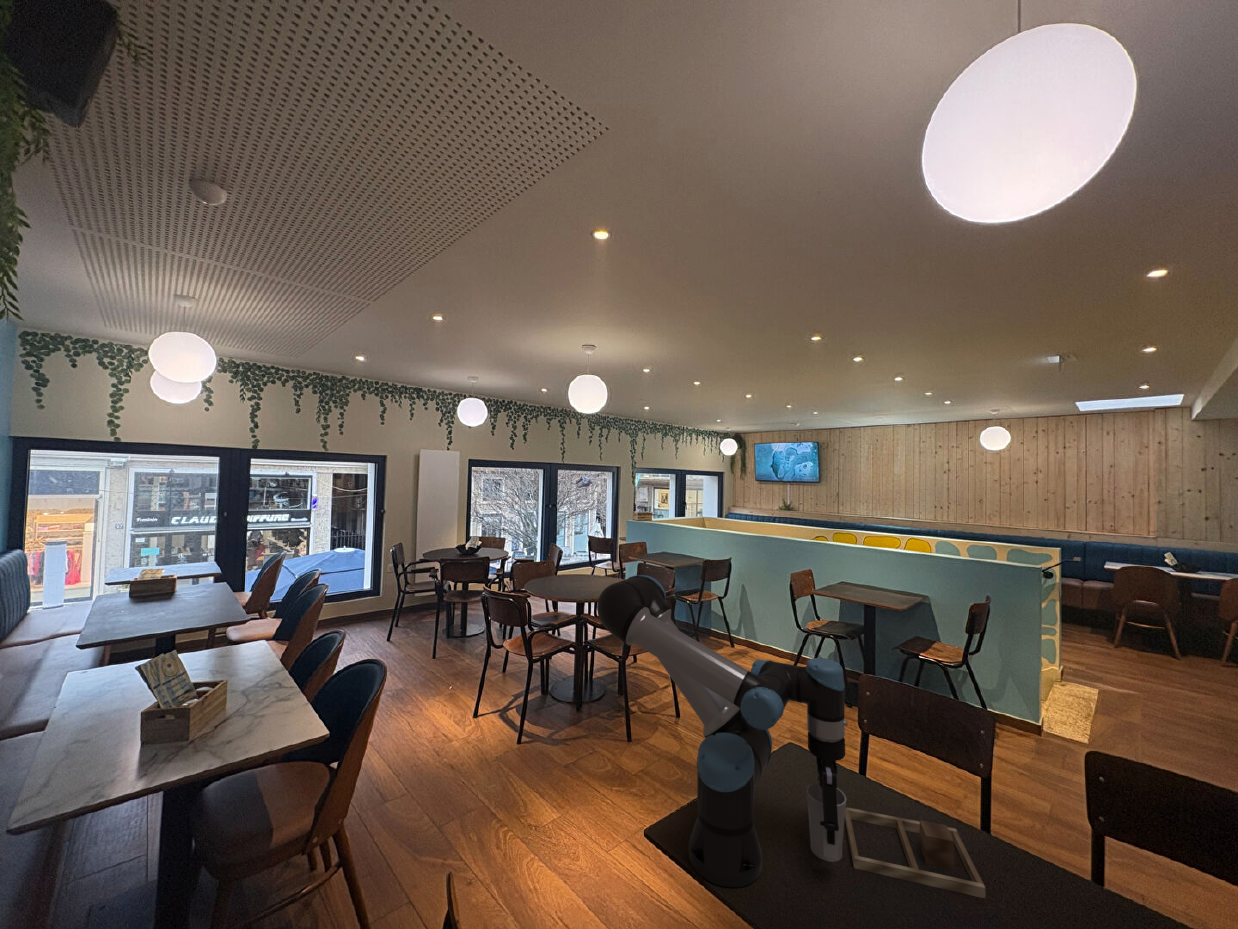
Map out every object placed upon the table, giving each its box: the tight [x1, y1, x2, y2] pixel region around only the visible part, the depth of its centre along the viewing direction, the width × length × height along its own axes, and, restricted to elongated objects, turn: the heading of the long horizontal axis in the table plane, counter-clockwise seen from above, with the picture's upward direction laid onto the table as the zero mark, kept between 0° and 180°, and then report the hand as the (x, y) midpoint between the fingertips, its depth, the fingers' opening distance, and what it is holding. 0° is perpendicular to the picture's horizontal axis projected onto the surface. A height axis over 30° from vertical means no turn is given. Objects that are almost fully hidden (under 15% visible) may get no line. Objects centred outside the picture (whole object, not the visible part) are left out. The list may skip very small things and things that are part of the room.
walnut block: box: [919, 819, 955, 872], centre depth 105 cm, size 5×5×6 cm
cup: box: [806, 782, 847, 863], centre depth 107 cm, size 8×8×12 cm
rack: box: [844, 806, 986, 899], centre depth 107 cm, size 23×17×2 cm
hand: (827, 834), depth 107 cm, fingers open, 13 cm apart
